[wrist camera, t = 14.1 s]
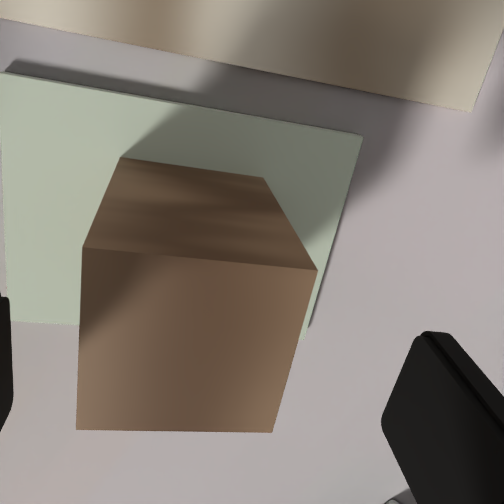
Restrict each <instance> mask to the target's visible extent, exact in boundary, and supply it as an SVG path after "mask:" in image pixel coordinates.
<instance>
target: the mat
mask: <svg viewBox="0 0 504 504" xmlns="http://www.w3.org/2000/svg"><path fill="white" fill-rule="evenodd" d="M363 138H364V137H362V136H360V135H359V134H354V133H348V132H342V131H337V130H331V129H325V128H320V127H314V126H308V125H303V124H297V123H292V122H286V121H280V120H275V119H269V118H263V117H258V116H252V115H246V114H241V113H235V112H230V111H224V110H218V109H213V108H207V107H201V106H196V105H190V104H184V103H179V102H173V101H168V100H162V99H156V98H151V97H145V96H139V95H134V94H128V93H122V92H117V91H111V90H105V89H100V88H94V87H89V86H83V85H77V84H72V83H66V82H60V81H55V80H49V79H43V78H38V77H32V76H27V75H21V74H15V73H10V72H4V71H3V72H0V140H1V163H2V187H3V210H4V234H5V257H6V281H7V297H8V298H9V301H10V320H11V321H20V322H35V323H50V324H66V325H79V324H80V295H81V265H82V246H83V244H84V241H85V239H86V237H87V234H88V232H89V230H90V227H91V225H92V222H93V220H94V218H95V215H96V213H97V211H98V208H99V206H100V203H101V201H102V199H103V196H104V194H105V191H106V189H107V187H108V184H109V182H110V180H111V177H112V175H113V172H114V170H115V168H116V165H117V163H118V161H119V158H120V157H124V158H131V159H138V160H145V161H152V162H159V163H166V164H173V165H180V166H187V167H194V168H201V169H208V170H215V171H221V172H228V173H235V174H242V175H249V176H256V177H263V178H264V180H265V181H266V183H267V185H268V186H269V188H270V190H271V191H272V193H273V195H274V196H275V198H276V200H277V202H278V203H279V205H280V207H281V208H282V210H283V212H284V213H285V215H286V217H287V219H288V220H289V222H290V224H291V225H292V227H293V229H294V230H295V232H296V234H297V235H298V237H299V239H300V241H301V242H302V244H303V246H304V247H305V249H306V251H307V252H308V254H309V256H310V258H311V259H312V261H313V263H314V264H315V266H316V268H317V269H318V273H317V277H316V280H315V284H314V287H313V291H312V294H311V298H310V301H309V305H308V308H307V312H306V315H305V319H304V322H303V326H302V329H301V333H300V336H299V340H304V338H305V334H306V331H307V328H308V324H309V321H310V318H311V314H312V311H313V307H314V304H315V301H316V297H317V294H318V290H319V287H320V284H321V280H322V277H323V273H324V270H325V267H326V263H327V260H328V256H329V253H330V250H331V246H332V243H333V239H334V236H335V233H336V229H337V226H338V222H339V219H340V216H341V212H342V209H343V206H344V202H345V199H346V195H347V192H348V189H349V185H350V182H351V178H352V175H353V172H354V168H355V165H356V161H357V158H358V155H359V151H360V148H361V144H362V141H363Z"/></svg>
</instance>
